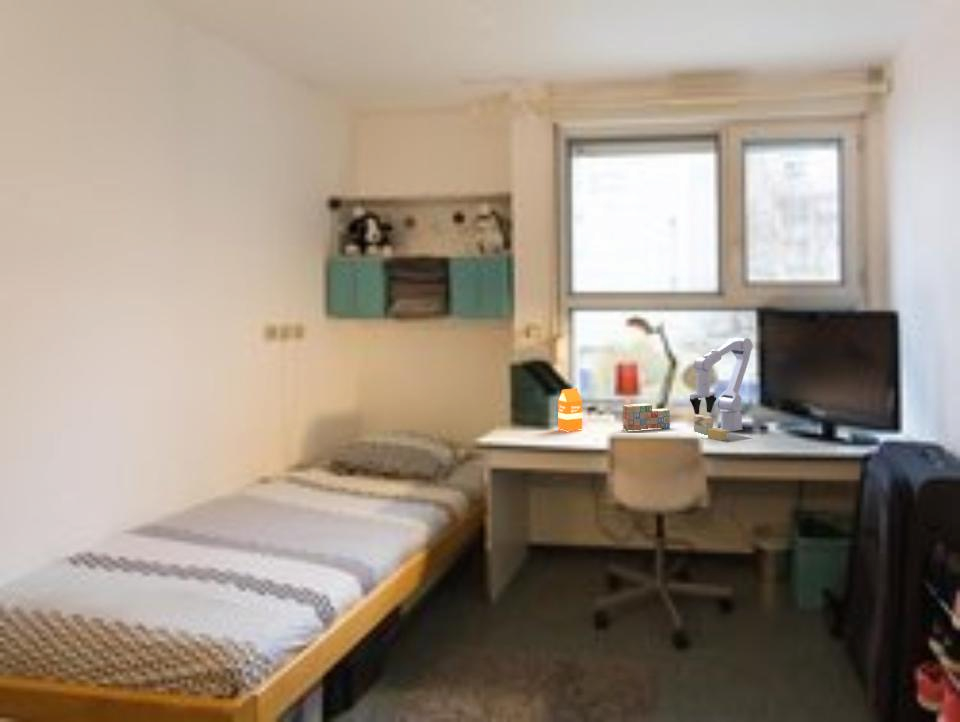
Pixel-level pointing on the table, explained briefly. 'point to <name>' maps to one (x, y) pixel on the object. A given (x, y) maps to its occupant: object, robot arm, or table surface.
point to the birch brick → (703, 420)
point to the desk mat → (733, 438)
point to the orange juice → (570, 410)
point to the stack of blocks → (644, 417)
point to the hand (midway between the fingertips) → (703, 413)
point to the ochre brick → (717, 434)
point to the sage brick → (702, 429)
